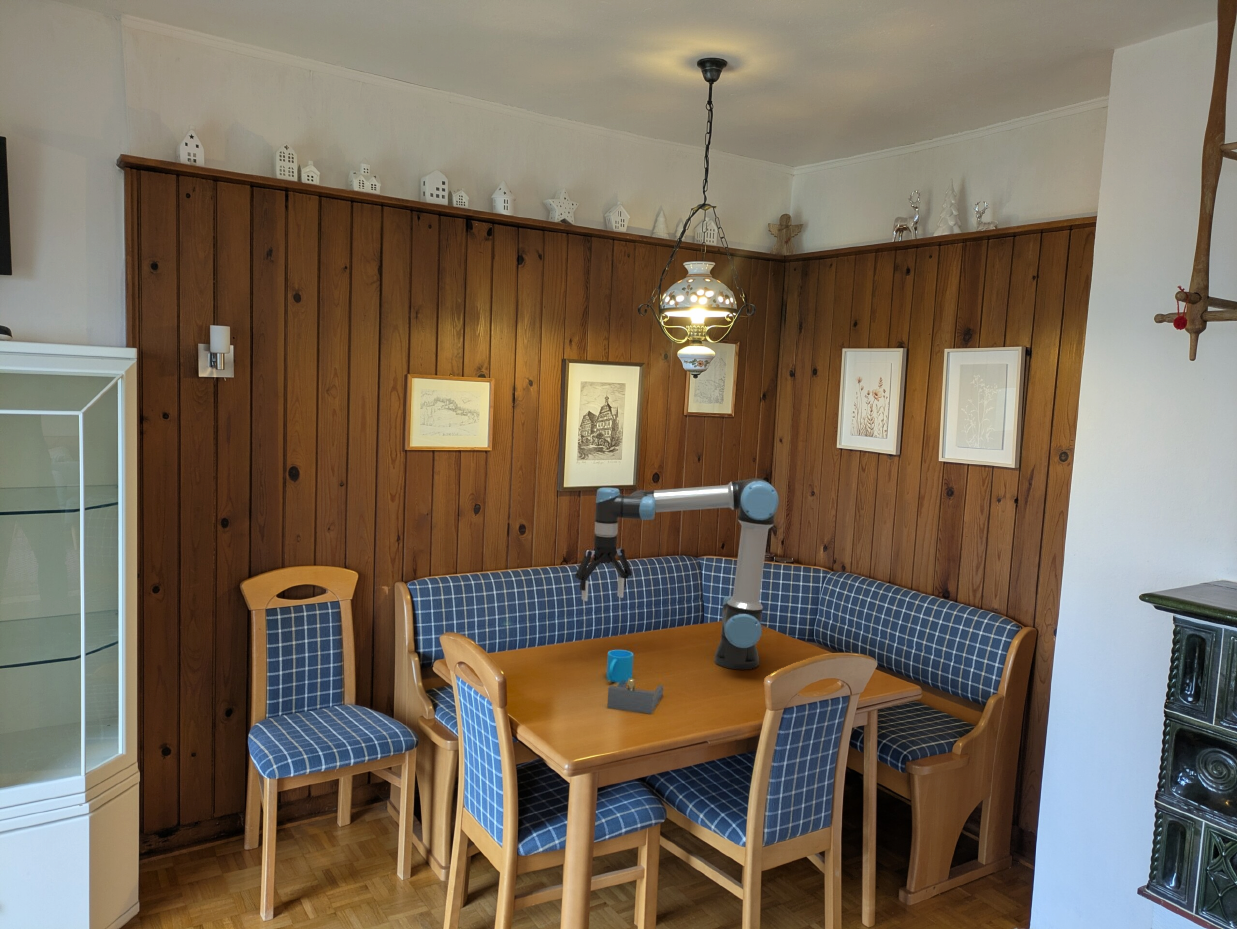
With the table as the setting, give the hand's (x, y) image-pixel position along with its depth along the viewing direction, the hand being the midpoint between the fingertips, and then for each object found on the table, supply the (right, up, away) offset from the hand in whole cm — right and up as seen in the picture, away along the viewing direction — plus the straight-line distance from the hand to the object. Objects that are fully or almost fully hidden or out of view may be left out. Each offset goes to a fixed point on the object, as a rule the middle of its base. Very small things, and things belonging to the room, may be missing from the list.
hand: (602, 598), depth 289 cm
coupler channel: (+10, -26, -29) cm, 41 cm away
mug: (+5, -24, -11) cm, 27 cm away
